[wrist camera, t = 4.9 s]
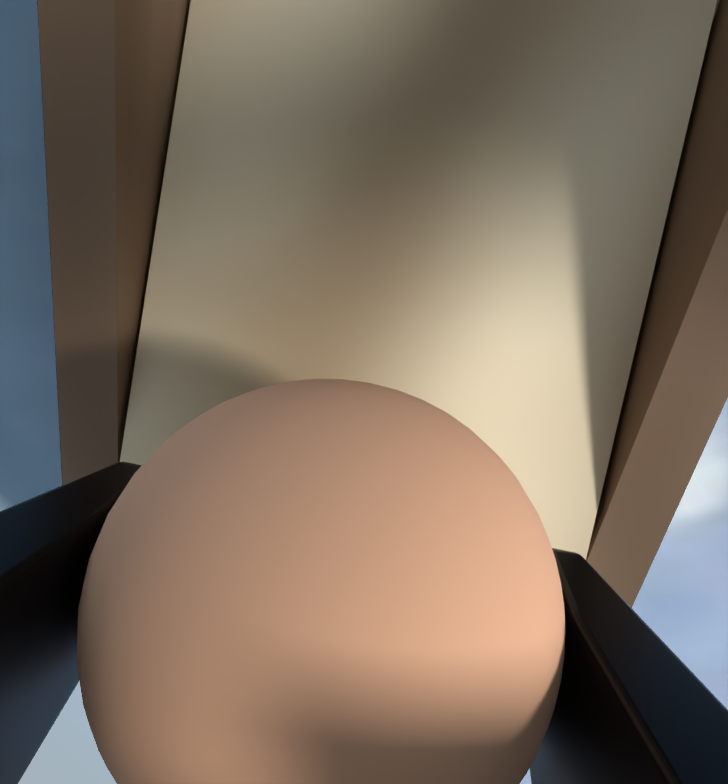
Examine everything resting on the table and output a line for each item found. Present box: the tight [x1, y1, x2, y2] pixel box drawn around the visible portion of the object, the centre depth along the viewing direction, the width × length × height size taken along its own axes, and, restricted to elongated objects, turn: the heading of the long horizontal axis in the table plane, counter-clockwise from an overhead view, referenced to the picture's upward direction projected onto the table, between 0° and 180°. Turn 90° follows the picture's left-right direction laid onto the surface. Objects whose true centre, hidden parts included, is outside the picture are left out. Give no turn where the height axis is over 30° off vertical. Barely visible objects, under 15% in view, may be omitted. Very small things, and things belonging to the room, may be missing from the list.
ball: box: [77, 379, 566, 784], centre depth 7 cm, size 5×5×5 cm
